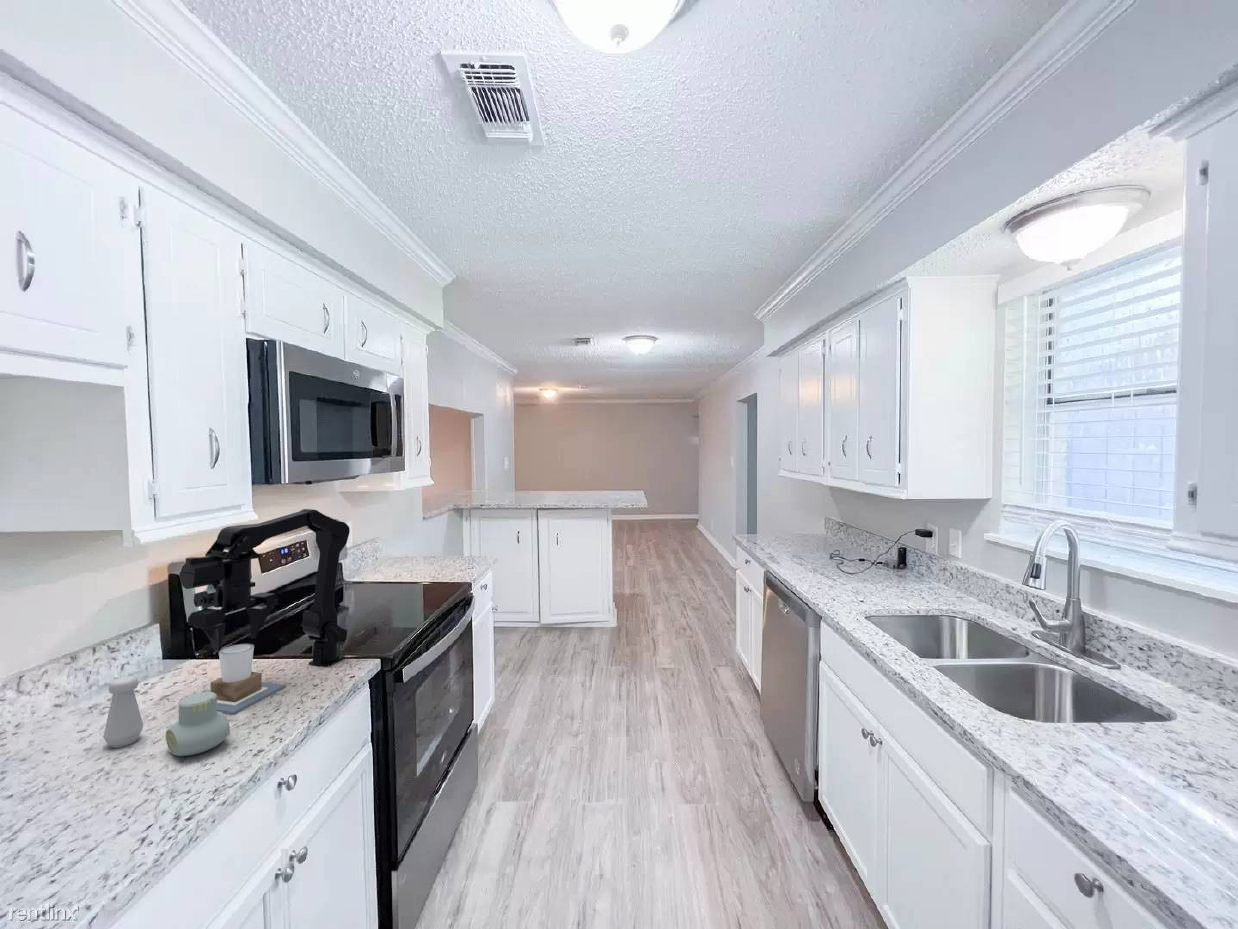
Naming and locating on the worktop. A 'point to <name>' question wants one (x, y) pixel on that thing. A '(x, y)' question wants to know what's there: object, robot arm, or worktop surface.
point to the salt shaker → (123, 713)
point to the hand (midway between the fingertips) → (236, 644)
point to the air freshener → (197, 725)
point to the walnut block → (236, 688)
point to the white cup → (236, 662)
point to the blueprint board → (248, 699)
